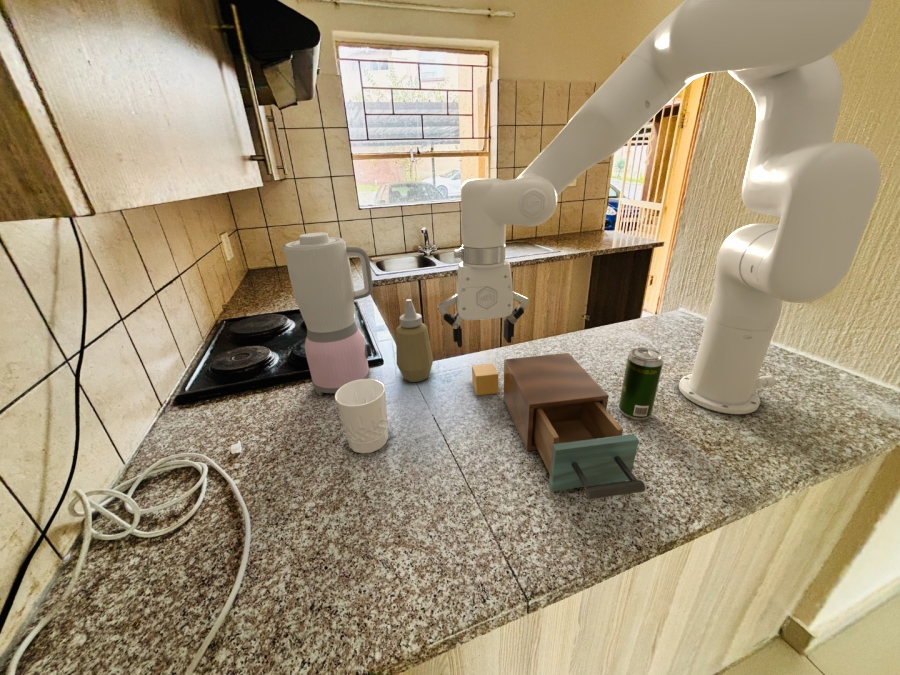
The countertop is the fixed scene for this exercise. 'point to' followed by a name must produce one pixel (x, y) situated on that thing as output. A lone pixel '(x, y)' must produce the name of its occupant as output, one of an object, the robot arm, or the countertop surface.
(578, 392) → the wooden drawer cabinet
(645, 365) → the beer can
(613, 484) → the open teal drawer
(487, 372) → the mustard brown cube
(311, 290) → the blender
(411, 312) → the squeeze bottle
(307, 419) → the countertop surface
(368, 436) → the white cup
